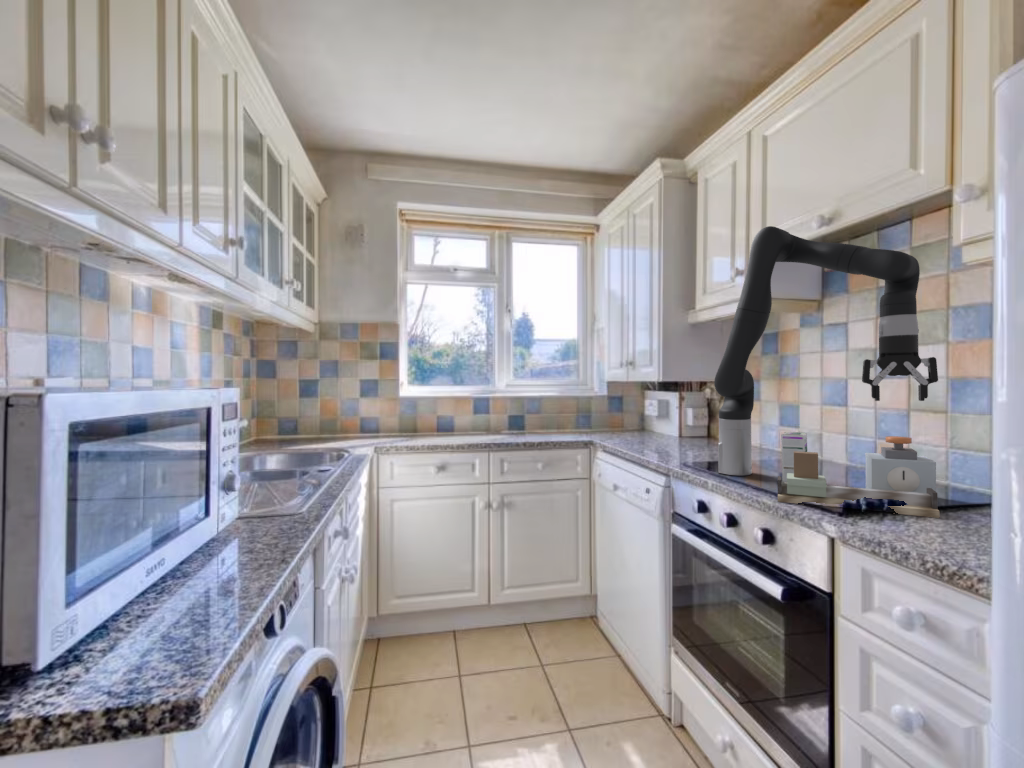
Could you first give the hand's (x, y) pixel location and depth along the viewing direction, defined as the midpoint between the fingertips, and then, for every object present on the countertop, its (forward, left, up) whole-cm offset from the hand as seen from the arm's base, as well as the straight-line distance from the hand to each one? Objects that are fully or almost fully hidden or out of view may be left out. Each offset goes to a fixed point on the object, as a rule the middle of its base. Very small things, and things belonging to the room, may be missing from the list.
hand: (898, 400), depth 116 cm
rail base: (-11, -12, -24) cm, 29 cm away
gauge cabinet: (0, +1, -24) cm, 24 cm away
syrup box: (-22, +6, -24) cm, 33 cm away
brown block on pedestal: (-20, -12, -22) cm, 32 cm away
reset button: (0, +1, -12) cm, 12 cm away
